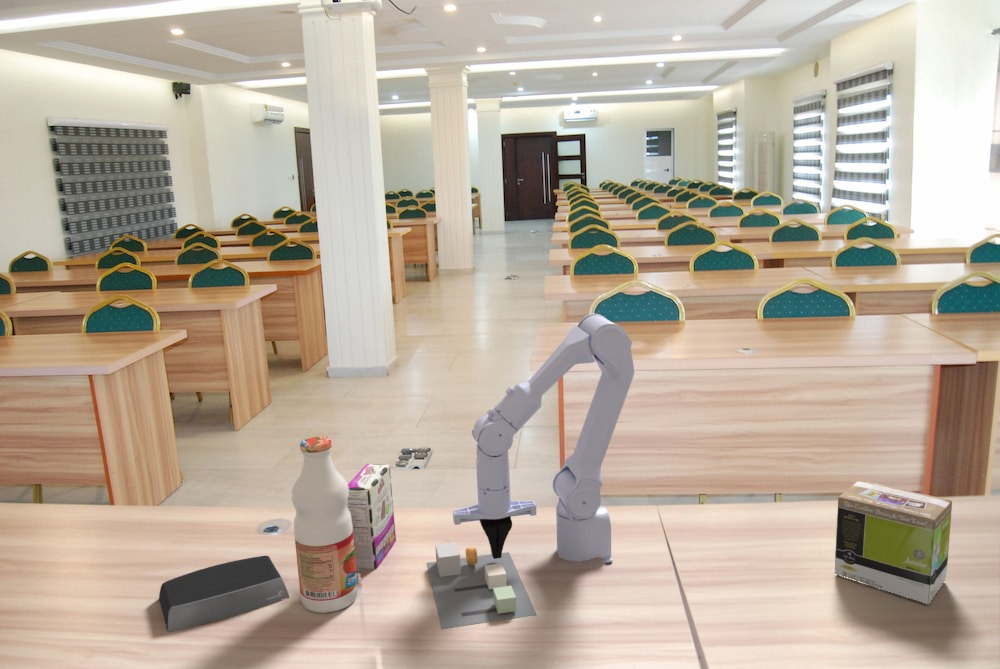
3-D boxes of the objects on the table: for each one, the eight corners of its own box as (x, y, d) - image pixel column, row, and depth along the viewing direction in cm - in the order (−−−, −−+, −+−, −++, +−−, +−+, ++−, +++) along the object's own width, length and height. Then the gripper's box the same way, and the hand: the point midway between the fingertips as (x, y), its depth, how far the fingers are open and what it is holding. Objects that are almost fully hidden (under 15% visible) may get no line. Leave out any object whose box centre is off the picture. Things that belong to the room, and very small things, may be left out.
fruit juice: (296, 592, 138) (280, 437, 131) (350, 579, 141) (337, 427, 135) (307, 620, 129) (291, 455, 123) (364, 605, 133) (352, 444, 127)
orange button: (474, 558, 144) (474, 544, 143) (477, 566, 141) (477, 551, 141) (466, 560, 144) (465, 545, 143) (468, 567, 141) (468, 553, 140)
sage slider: (511, 599, 131) (511, 585, 130) (516, 611, 127) (516, 597, 127) (493, 601, 130) (492, 588, 130) (497, 613, 127) (497, 599, 126)
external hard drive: (291, 602, 136) (288, 579, 135) (168, 637, 127) (164, 614, 126) (272, 568, 147) (270, 548, 146) (158, 599, 138) (155, 577, 137)
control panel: (508, 557, 147) (508, 533, 146) (537, 620, 127) (536, 594, 126) (426, 567, 144) (425, 544, 143) (442, 634, 124) (440, 607, 123)
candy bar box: (372, 543, 154) (365, 462, 150) (397, 545, 153) (391, 463, 149) (350, 573, 143) (342, 486, 140) (376, 575, 142) (370, 488, 139)
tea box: (946, 582, 134) (955, 499, 131) (928, 607, 127) (936, 520, 123) (853, 554, 144) (859, 476, 141) (831, 576, 137) (836, 495, 134)
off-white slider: (502, 576, 138) (501, 563, 137) (506, 586, 134) (506, 573, 134) (485, 578, 137) (484, 565, 137) (488, 589, 134) (488, 576, 133)
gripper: (528, 471, 145) (530, 540, 148) (449, 479, 143) (452, 550, 146) (538, 486, 139) (540, 558, 142) (454, 495, 136) (458, 569, 139)
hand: (496, 555), depth 143 cm, fingers closed
